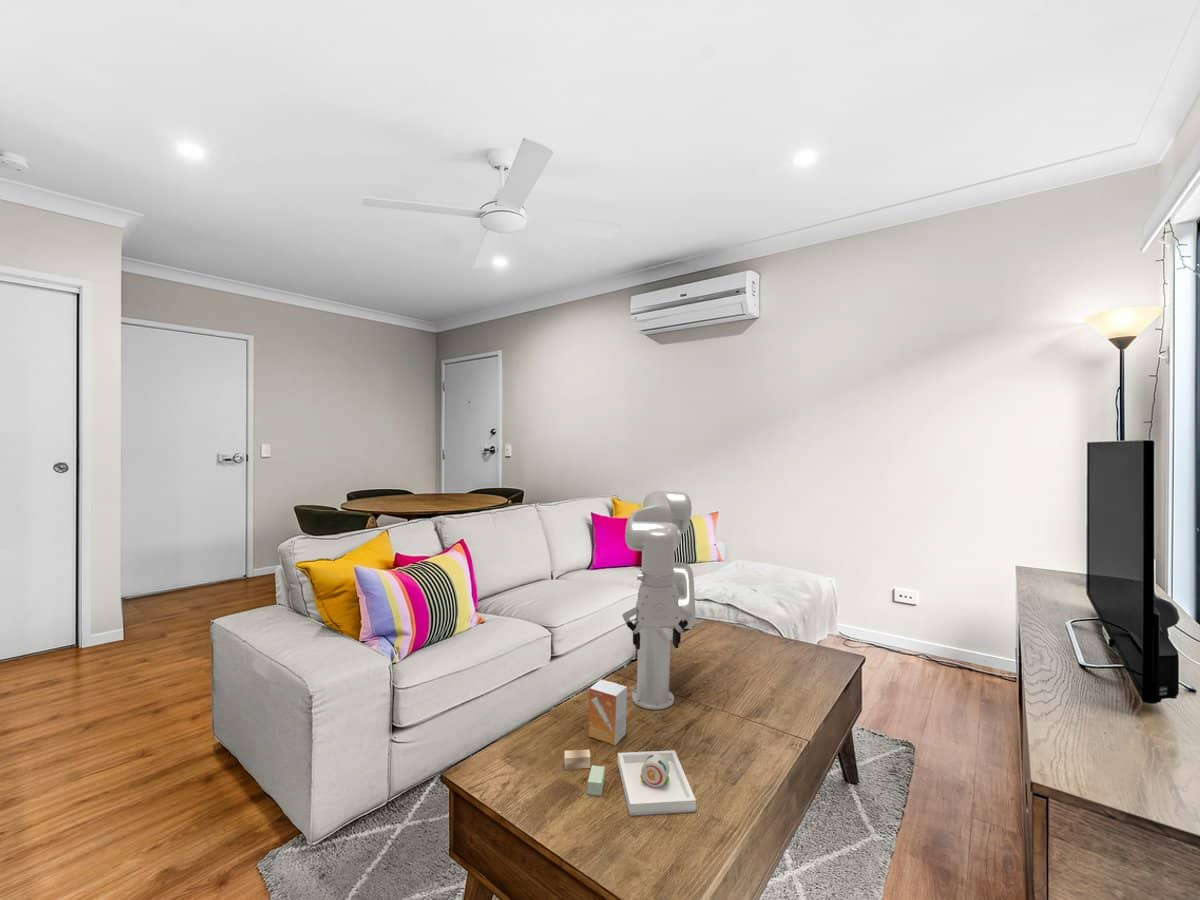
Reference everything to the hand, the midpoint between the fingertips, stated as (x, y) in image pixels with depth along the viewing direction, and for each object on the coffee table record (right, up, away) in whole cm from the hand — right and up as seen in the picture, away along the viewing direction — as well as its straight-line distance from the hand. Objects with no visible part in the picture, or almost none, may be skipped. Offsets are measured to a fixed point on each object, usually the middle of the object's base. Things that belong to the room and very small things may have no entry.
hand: (656, 646), depth 135 cm
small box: (-12, -26, +8) cm, 30 cm away
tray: (-2, -27, -12) cm, 30 cm away
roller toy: (-2, -27, -12) cm, 29 cm away
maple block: (-19, -27, -5) cm, 33 cm away
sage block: (-15, -27, -13) cm, 33 cm away
